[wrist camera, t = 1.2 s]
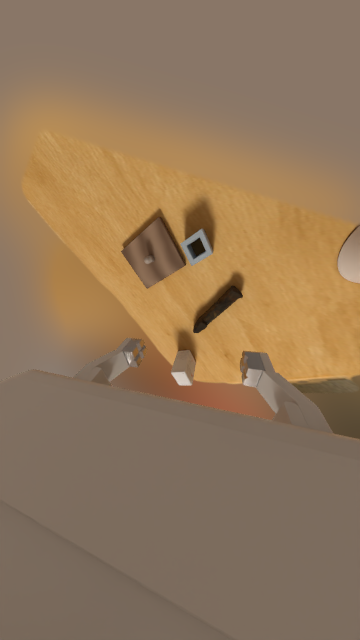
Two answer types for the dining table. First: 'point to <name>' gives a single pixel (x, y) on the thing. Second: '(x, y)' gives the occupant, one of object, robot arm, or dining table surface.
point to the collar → (190, 252)
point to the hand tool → (217, 308)
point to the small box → (184, 367)
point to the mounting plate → (153, 254)
